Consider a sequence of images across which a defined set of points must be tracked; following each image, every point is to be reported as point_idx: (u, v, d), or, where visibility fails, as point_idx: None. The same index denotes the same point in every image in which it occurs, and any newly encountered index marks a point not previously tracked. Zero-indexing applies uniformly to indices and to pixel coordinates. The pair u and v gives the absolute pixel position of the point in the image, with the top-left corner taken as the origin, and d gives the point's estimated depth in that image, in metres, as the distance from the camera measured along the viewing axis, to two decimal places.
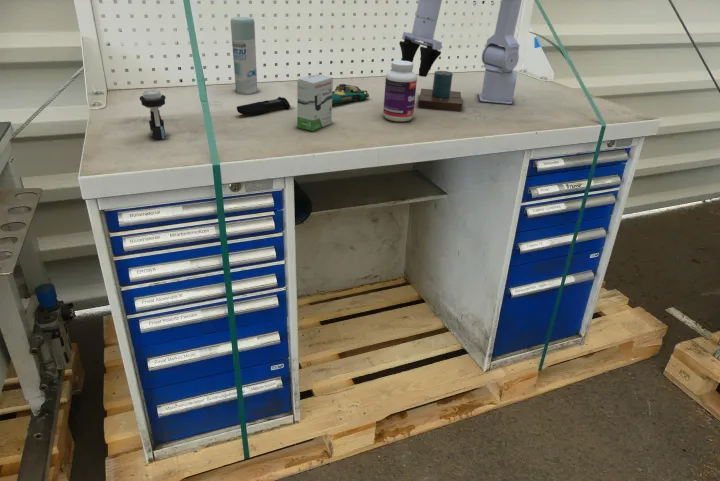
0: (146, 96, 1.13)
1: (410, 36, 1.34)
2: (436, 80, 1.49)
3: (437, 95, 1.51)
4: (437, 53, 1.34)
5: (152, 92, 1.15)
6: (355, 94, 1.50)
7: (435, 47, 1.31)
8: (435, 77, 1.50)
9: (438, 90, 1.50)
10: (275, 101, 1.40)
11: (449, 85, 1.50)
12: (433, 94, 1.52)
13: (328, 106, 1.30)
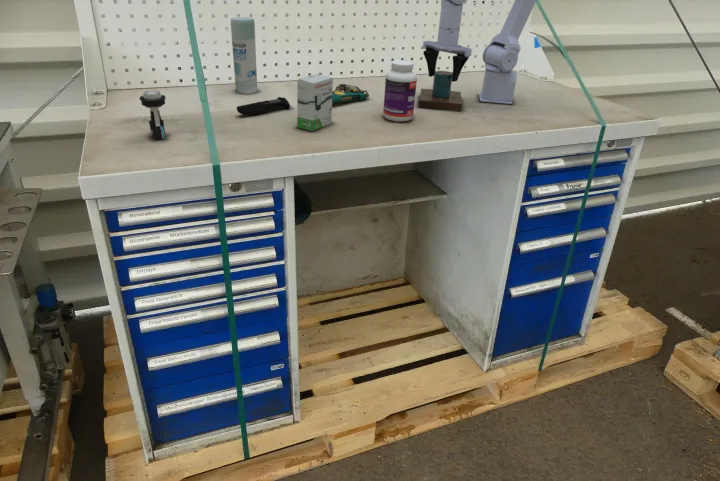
0: (146, 96, 1.13)
1: (440, 48, 1.43)
2: (436, 80, 1.49)
3: (437, 95, 1.51)
4: (466, 58, 1.45)
5: (152, 92, 1.15)
6: (355, 94, 1.50)
7: (468, 54, 1.43)
8: (435, 77, 1.50)
9: (438, 90, 1.50)
10: (275, 101, 1.40)
11: (449, 85, 1.50)
12: (433, 94, 1.52)
13: (328, 106, 1.30)
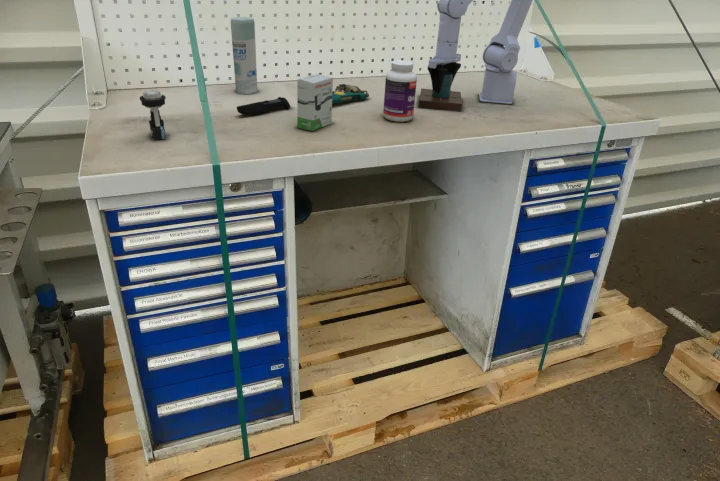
0: (146, 96, 1.13)
1: (458, 60, 1.46)
2: None
3: (437, 95, 1.51)
4: None
5: (152, 92, 1.15)
6: (355, 94, 1.50)
7: None
8: None
9: None
10: (275, 101, 1.40)
11: (449, 85, 1.50)
12: (433, 94, 1.52)
13: (328, 106, 1.30)
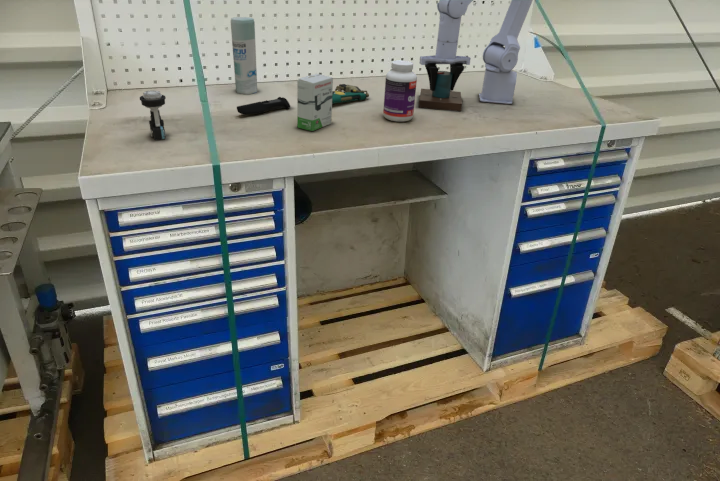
0: (146, 96, 1.13)
1: (451, 61, 1.45)
2: None
3: (433, 93, 1.52)
4: None
5: (152, 92, 1.15)
6: (355, 94, 1.50)
7: (469, 62, 1.49)
8: None
9: None
10: (275, 101, 1.40)
11: (444, 85, 1.49)
12: (432, 92, 1.53)
13: (328, 106, 1.30)
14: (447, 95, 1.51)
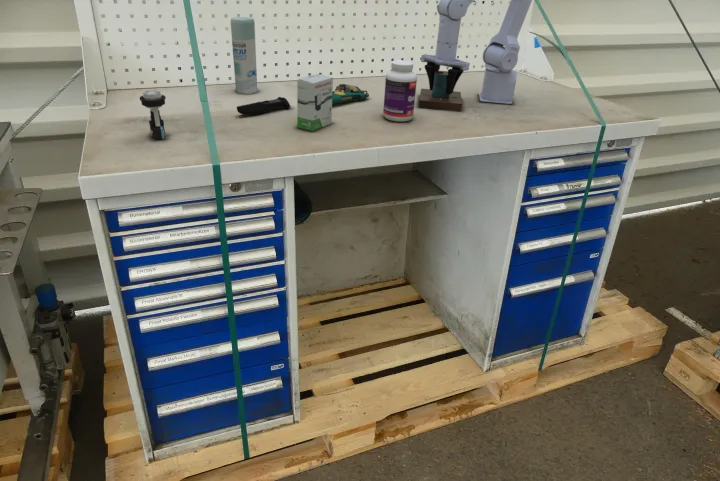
0: (146, 96, 1.13)
1: (438, 62, 1.45)
2: None
3: None
4: (461, 71, 1.48)
5: (152, 92, 1.15)
6: (355, 94, 1.50)
7: (465, 69, 1.44)
8: None
9: None
10: (275, 101, 1.40)
11: (436, 84, 1.50)
12: None
13: (328, 106, 1.30)
14: (440, 95, 1.51)
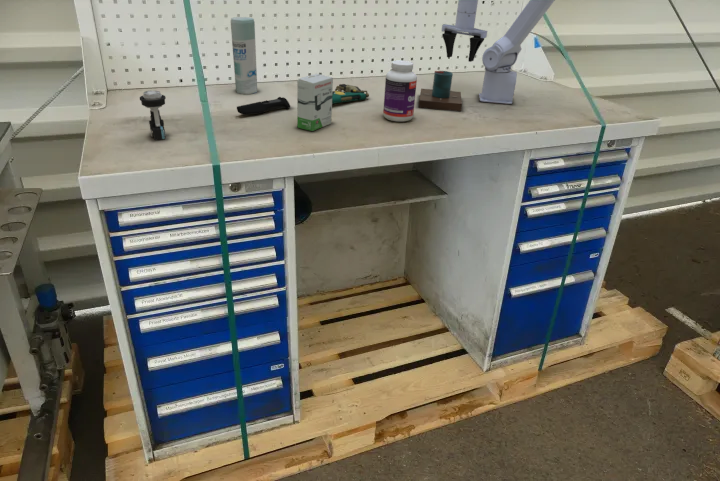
0: (146, 96, 1.13)
1: (458, 30, 1.57)
2: None
3: None
4: (482, 40, 1.59)
5: (152, 92, 1.15)
6: (355, 94, 1.50)
7: (483, 36, 1.56)
8: None
9: None
10: (275, 101, 1.40)
11: (437, 84, 1.50)
12: None
13: (328, 106, 1.30)
14: (440, 95, 1.51)
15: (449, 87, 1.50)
